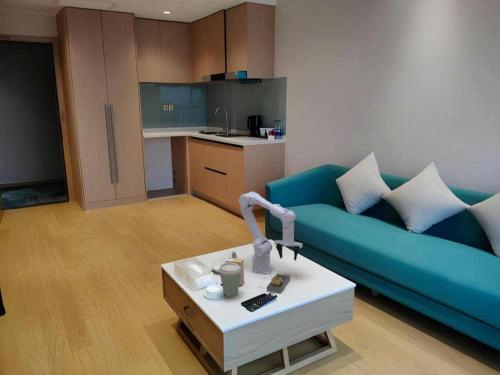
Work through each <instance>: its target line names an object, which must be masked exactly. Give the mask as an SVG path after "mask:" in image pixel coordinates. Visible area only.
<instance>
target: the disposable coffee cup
mask: <svg viewBox="0 0 500 375" xmlns="http://www.w3.org/2000/svg"><path fill="white" fill-rule="evenodd" d="M240 271H241V267H240V266H239V265H238V264H236V263H231V262H226V263H222V264H221V265H220V268H219V272H220V273H219V275H220V281H221V286H222V292H223V295H224V294H225V295H226V296H225V295H224V296H225V298H230V299H231V298H235V297H237V296H238V293H239V287H240V286H239V279H240Z"/></svg>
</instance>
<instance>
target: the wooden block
mask: <svg viewBox="0 0 500 375" xmlns="http://www.w3.org/2000/svg"><path fill="white" fill-rule="evenodd" d="M282 281H283V280H282V277H278V276H276V275H273V276H272V277H271V280H270V282H271V285H272V286H278V287H280V286H281V285H282Z"/></svg>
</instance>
